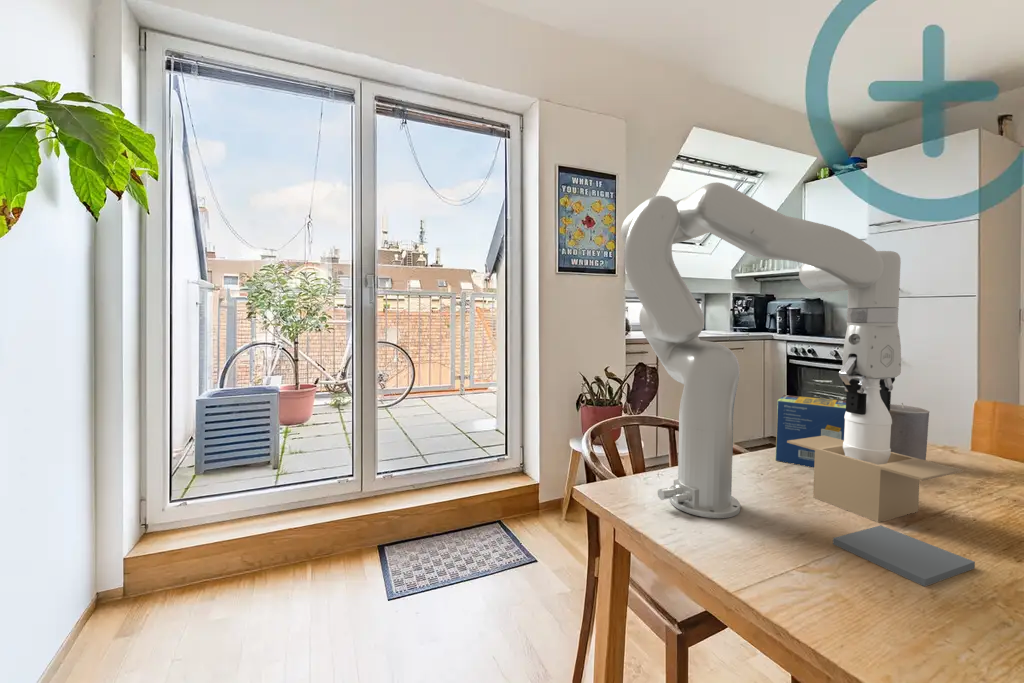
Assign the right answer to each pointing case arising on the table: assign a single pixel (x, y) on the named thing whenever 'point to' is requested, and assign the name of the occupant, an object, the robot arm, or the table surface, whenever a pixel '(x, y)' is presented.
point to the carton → (869, 480)
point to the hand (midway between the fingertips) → (867, 410)
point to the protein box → (806, 425)
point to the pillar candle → (909, 430)
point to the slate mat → (904, 555)
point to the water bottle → (869, 429)
